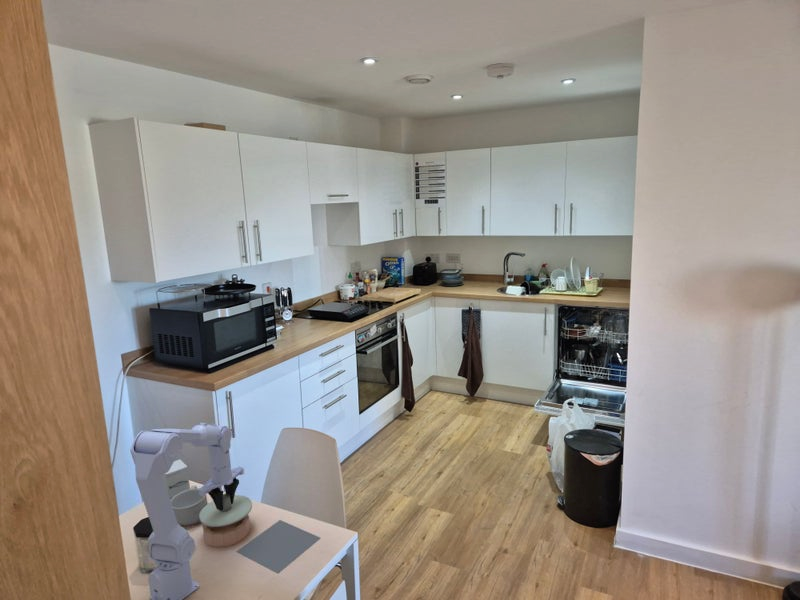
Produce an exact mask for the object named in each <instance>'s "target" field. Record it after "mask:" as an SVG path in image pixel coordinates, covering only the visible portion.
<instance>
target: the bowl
mask: <svg viewBox="0 0 800 600" xmlns="http://www.w3.org/2000/svg"><path fill="white" fill-rule="evenodd" d="M250 530H251V522H250V516H249V514H248V515H247V516H245V517H244V518H243V519H241V520H239V521H237V522H235V523H232V524H229V525H225V526H219V527H211V526H206V525H204V524H203V523H202V531H203V539H204V542H205V544H207V545H209V546H211V547H215V548H216V547H217V548H220V547H228V546H231V545H234V544H237V543H239V542H240V541H242V540H243V539H244V538H246V537H247V535H248V534H249V532H250Z"/></svg>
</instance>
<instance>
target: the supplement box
mask: <svg viewBox="0 0 800 600" xmlns="http://www.w3.org/2000/svg"><path fill="white" fill-rule="evenodd" d="M163 479H164V482H165V485H166V488H167V491H168V495H169V498H170V501H171V499H172V498H173V497H174V496H175V495H177V494H178V493H180V492H182V491H185V490H188V489H191V486H190V477H189V470H188V466H187V464H186V463H185V462H184V461H183V460H182V459H177V460H175V461H174V462H173V464H172V466H171V468H170V470H169V472H167V473H165V474H163Z"/></svg>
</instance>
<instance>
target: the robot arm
mask: <svg viewBox="0 0 800 600" xmlns="http://www.w3.org/2000/svg"><path fill="white" fill-rule="evenodd" d="M232 435H233V432H232V431H231V429H230V428H229V427H228V426H227V425H217V424H216V423H209V424H208V423H207V422H199V424H197V425H194V426H192V428H191V429H184V428H183V429H182V428H157V429H156V428H155V429H154V428H153V429H150V431H149V430H146V429H145V430H141V431H140V432H138V434H137V435H136V436H135V437H134V439H133V441H132V445H131V447H130V449H129V451H130V454H131V458H132V460H133V463H134V466H135V468H134V469H135V481H136V484H137V487H138V490H139V493H140V496H141V499H142V501H143V504H144V507H145V511H146V514H147V516H148V519H149V521H150V524H151V528H152V532H151V534H150V535H149V536H148V539H147V542H148V556H149V558H150V560H153V561H154V562H155V565H157V566H156V567H155V568H154V569H153V570H152V571H151V572H150V573H149V574H148V579H147V580H148V586H149V593H150V596H149V600H184V599H185V598H186V597H188V596H189V595H191V594H192V593H193V592H195V591H196V590H198V589H199V588H200V583H198V582H196V581H195V580H193V579H192V571H191V562H190V560H191V559H192V557H193V555H194V552H195V549H196V543H195V539H194V538H193V537H192V536H190V533H189V531H188V530H187V529H186V528H184V527H182V525H181V524H178V523H177V520H176V516H175V513H174V510H173V507H172V504H171V501H170V498H169V495H168V491H167V488H166V485H165V482H164V479H163V474H165V473H167V472H169V470H170V468H171V466H172V464H173V462H174V461H176V458H177V457H178V455H179V453H180V451H181V450H182V449H183V446H184V443H190V444H191V445H192V446H194V447H207V452H208V460H209V461H208V462H209V467H210V468H209V469H210V477H211V478H210V479H209V480H208V481H207V482H205V484H204V485H203V486H201V487H198V488H199V495H201V496H203V497H204V496H206V497H207V495H209V497H210V498H211V500H212V501H214V503H215V506H216V508H217V509H218V510H220V511H221V510H223V501H222V499H223V494H229V495H230V500H231V504H233V501H234V495H236V491H237V488H238V486H239V484H240V480H239V479H238V478H237V477H238V476H242V475H244V474H245V468H244V467H242V466H237V467H235V468H232V464H231V455H230V449H231V446H232V445H231V441H232ZM220 487H223V488H224V490H221V488H220ZM224 491H225V492H224Z"/></svg>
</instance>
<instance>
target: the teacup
mask: <svg viewBox="0 0 800 600" xmlns="http://www.w3.org/2000/svg"><path fill="white" fill-rule="evenodd" d="M199 488H200V487H198V486H197V485H192V486H190V489H188V490H185V491H182V492H180V493H178V494H177V495H175V496H174V497H173V498H172V499H171V504H172V507H173V510H174V513H175V516H176V520H177V523H178V525H180V526H187V527H189V526H194V525H196V524H197V523H199V522H201V521H200V517H199V514H200V512H201V510H202V509H203V508H204V507H205V506H206V505H207V504H209V503H208V499H207V498H208V497H207V495H206V496H204V497H203V496H201V495H199Z"/></svg>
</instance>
